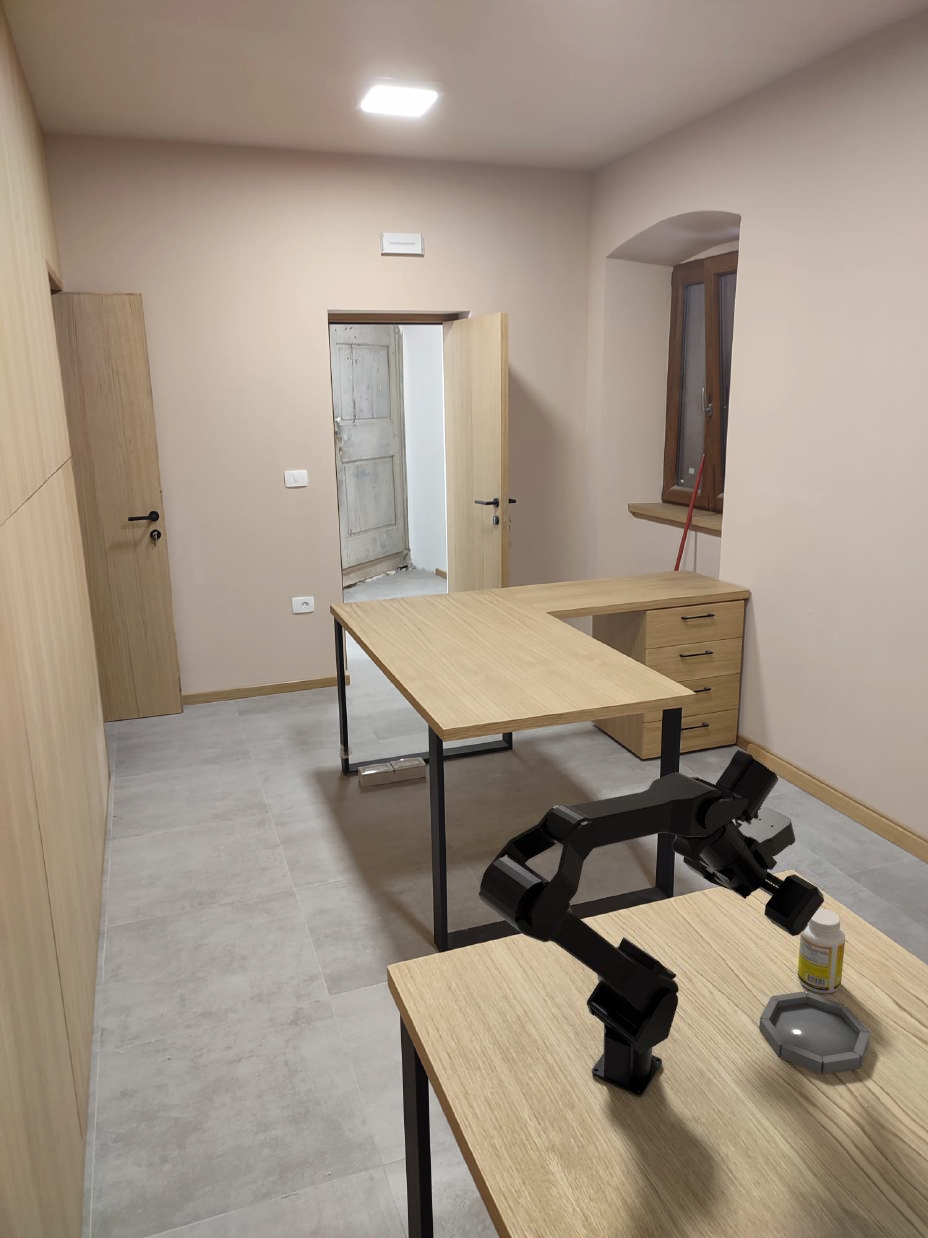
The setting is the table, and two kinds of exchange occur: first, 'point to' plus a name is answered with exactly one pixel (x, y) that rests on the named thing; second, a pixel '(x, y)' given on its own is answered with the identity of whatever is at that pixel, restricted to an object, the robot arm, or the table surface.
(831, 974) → the supplement bottle
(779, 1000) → the dish
